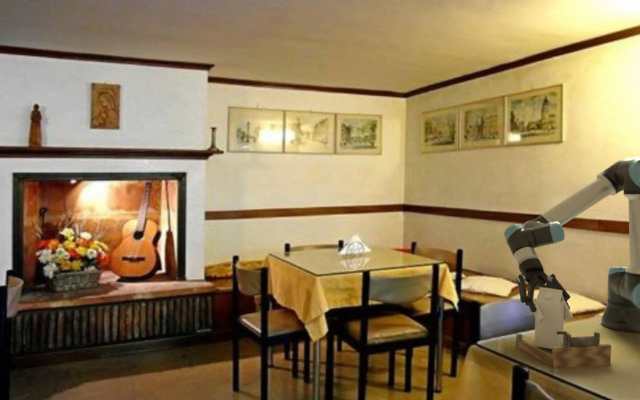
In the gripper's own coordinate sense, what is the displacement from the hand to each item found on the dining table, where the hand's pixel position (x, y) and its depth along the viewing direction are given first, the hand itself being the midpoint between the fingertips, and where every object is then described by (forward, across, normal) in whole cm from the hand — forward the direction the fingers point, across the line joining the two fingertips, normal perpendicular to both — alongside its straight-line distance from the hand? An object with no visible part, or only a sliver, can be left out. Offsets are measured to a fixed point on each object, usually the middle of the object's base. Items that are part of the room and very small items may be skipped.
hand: (555, 319), depth 165 cm
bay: (+9, 0, -5) cm, 11 cm away
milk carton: (+5, 0, -9) cm, 10 cm away
